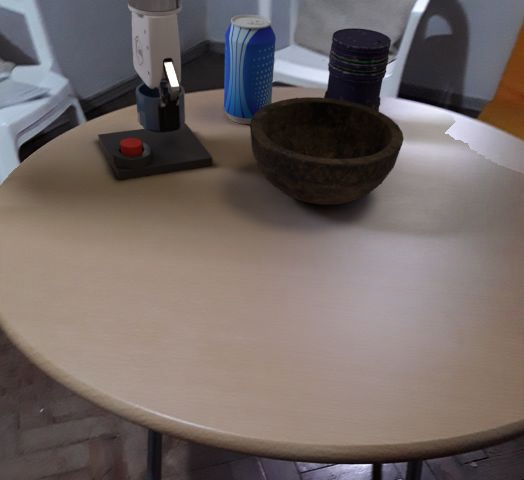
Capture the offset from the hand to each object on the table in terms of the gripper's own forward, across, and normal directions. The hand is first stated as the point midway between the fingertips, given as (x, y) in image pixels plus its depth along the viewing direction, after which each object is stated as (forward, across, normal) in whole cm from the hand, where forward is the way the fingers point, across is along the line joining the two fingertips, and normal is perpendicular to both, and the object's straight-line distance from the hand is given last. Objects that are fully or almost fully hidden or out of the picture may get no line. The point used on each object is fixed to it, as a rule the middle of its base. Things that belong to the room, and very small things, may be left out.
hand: (161, 118), depth 100 cm
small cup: (+1, 0, 0) cm, 1 cm away
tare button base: (+5, +2, -2) cm, 5 cm away
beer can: (+5, -7, +18) cm, 20 cm away
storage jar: (+5, +2, +34) cm, 34 cm away
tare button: (+2, +6, -6) cm, 9 cm away
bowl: (+5, +21, +18) cm, 28 cm away
